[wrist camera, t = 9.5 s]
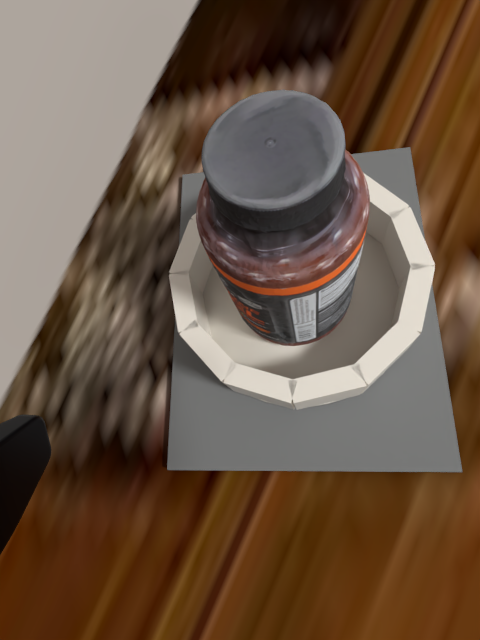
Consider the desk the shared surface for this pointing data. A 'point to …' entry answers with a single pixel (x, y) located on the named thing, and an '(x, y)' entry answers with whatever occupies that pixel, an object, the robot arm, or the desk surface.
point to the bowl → (332, 350)
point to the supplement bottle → (283, 214)
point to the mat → (326, 420)
